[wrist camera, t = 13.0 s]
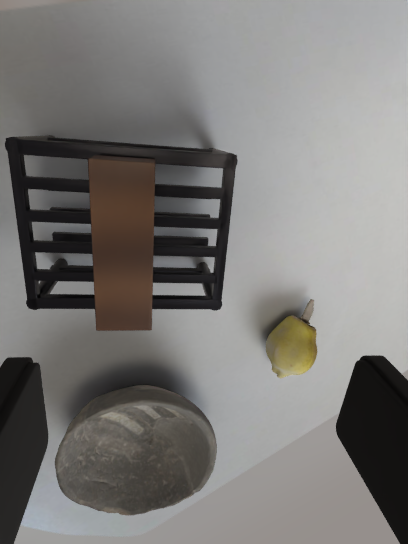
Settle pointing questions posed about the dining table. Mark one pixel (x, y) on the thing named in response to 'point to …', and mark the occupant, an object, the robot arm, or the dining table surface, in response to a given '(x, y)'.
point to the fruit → (293, 345)
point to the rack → (83, 241)
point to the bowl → (136, 451)
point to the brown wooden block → (122, 240)
